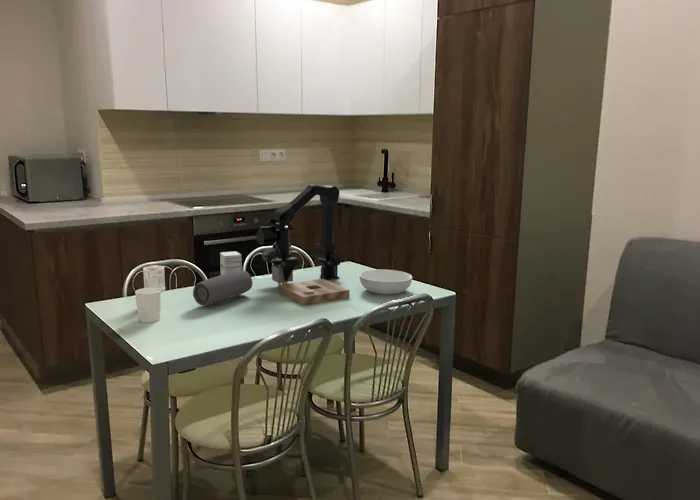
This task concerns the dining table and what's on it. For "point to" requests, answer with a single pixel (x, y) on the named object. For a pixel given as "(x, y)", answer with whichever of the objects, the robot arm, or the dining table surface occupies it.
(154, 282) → the white tall cylindrical part
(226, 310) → the dining table surface
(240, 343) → the dining table surface
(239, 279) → the bluetooth speaker
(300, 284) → the brown wooden flat slab
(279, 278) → the grey rectangular block
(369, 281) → the serving bowl
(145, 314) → the white cup
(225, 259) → the supplement box
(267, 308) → the dining table surface
